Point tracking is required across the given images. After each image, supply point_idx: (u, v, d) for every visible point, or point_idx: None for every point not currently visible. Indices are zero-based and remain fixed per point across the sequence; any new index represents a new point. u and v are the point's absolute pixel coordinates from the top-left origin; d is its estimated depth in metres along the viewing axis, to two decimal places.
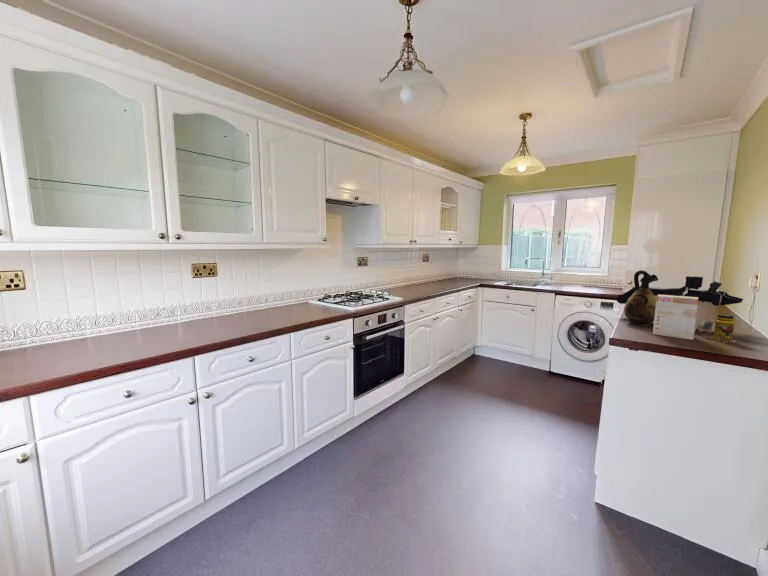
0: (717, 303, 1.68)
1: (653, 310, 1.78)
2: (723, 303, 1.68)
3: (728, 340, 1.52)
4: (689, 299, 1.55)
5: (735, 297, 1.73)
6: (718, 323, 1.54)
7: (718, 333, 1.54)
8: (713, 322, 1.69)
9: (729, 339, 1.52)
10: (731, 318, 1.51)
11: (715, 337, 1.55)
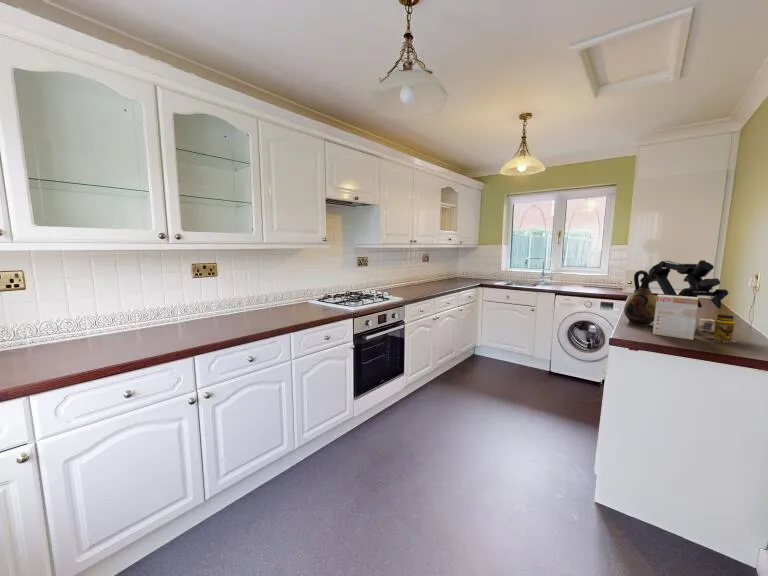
0: None
1: (653, 310, 1.78)
2: None
3: (728, 340, 1.52)
4: (689, 299, 1.55)
5: (718, 302, 1.63)
6: (718, 323, 1.54)
7: (718, 333, 1.54)
8: (713, 322, 1.69)
9: (729, 339, 1.52)
10: (731, 318, 1.51)
11: (715, 337, 1.55)
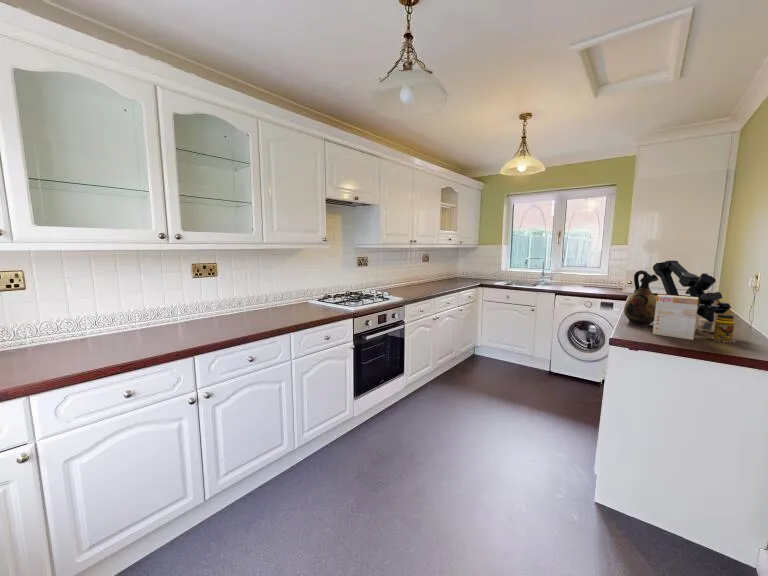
0: None
1: (653, 310, 1.78)
2: (699, 313, 1.66)
3: (728, 340, 1.52)
4: (689, 299, 1.55)
5: (711, 316, 1.62)
6: (718, 323, 1.54)
7: (718, 333, 1.54)
8: (713, 322, 1.69)
9: (729, 339, 1.52)
10: (731, 318, 1.51)
11: (715, 337, 1.55)
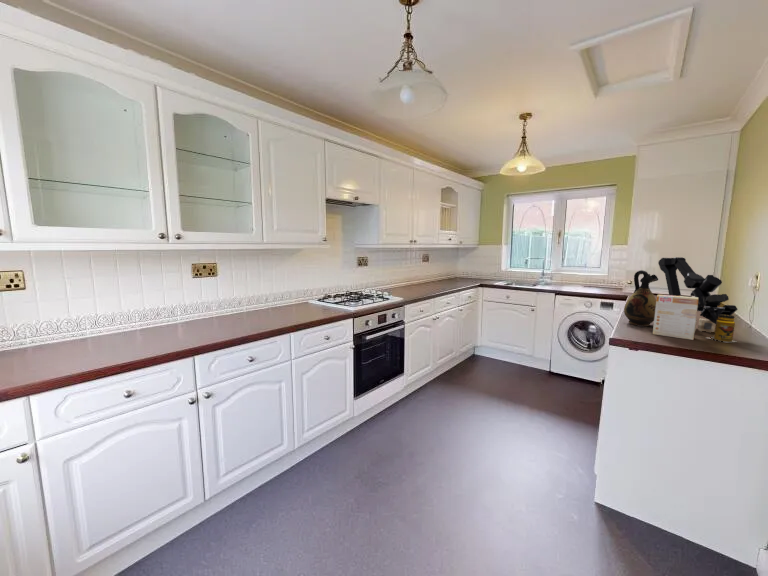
0: None
1: (653, 310, 1.78)
2: (705, 315, 1.63)
3: (729, 340, 1.52)
4: (689, 299, 1.55)
5: (717, 318, 1.58)
6: (719, 323, 1.54)
7: (719, 333, 1.54)
8: None
9: (730, 339, 1.52)
10: (732, 318, 1.51)
11: (716, 337, 1.55)
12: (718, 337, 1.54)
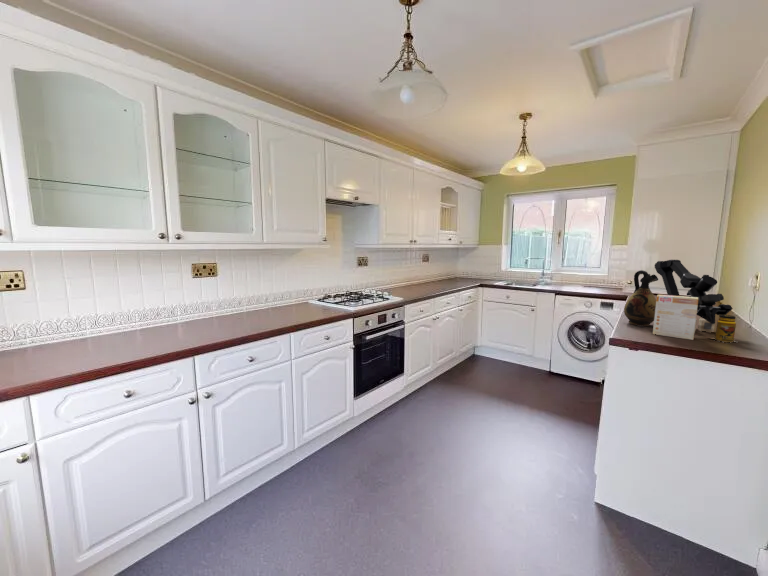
0: None
1: (653, 310, 1.78)
2: (700, 314, 1.65)
3: (730, 340, 1.51)
4: (689, 299, 1.55)
5: (712, 317, 1.61)
6: (720, 324, 1.53)
7: (720, 333, 1.53)
8: None
9: (731, 339, 1.51)
10: (733, 318, 1.50)
11: (717, 337, 1.55)
12: (719, 337, 1.53)
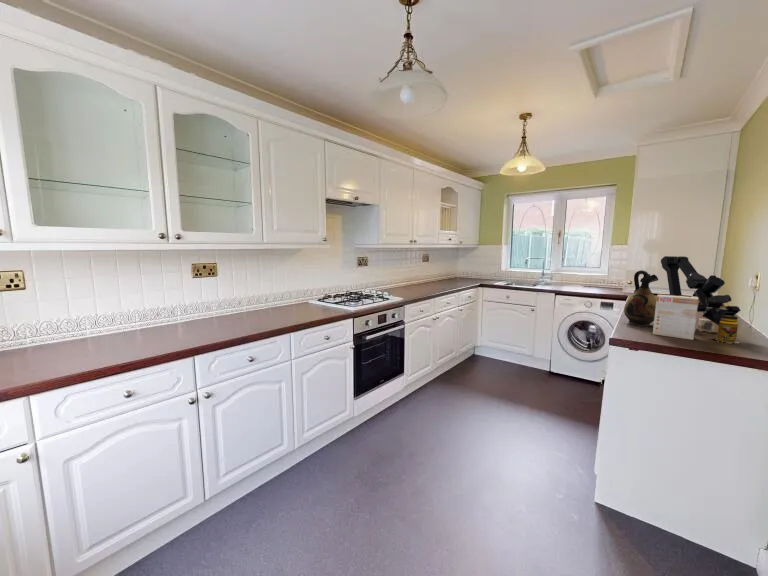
0: None
1: (653, 310, 1.78)
2: (707, 316, 1.61)
3: (731, 341, 1.50)
4: (689, 299, 1.55)
5: (720, 319, 1.57)
6: (721, 324, 1.52)
7: (722, 334, 1.52)
8: (713, 322, 1.69)
9: (733, 340, 1.50)
10: (735, 319, 1.49)
11: (718, 338, 1.54)
12: (721, 338, 1.53)
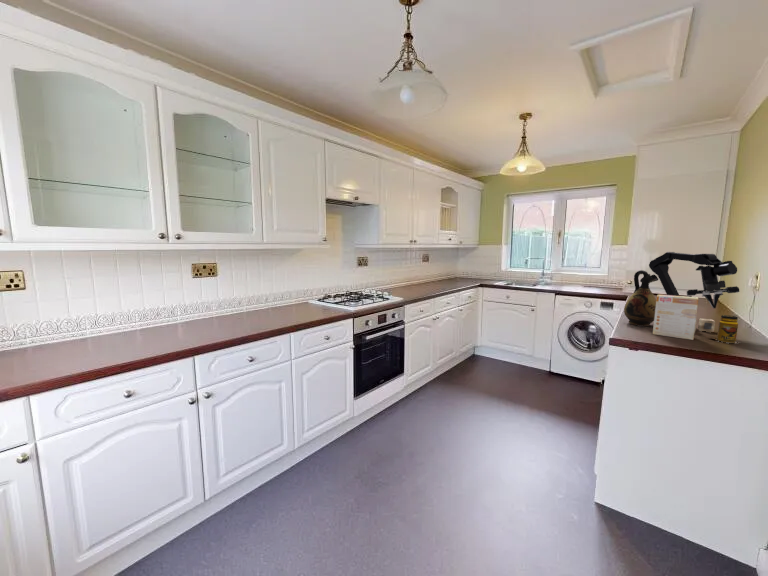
0: (687, 294, 1.77)
1: (653, 310, 1.78)
2: (706, 297, 1.72)
3: (731, 341, 1.50)
4: (689, 299, 1.55)
5: (714, 302, 1.68)
6: (721, 324, 1.52)
7: (722, 334, 1.52)
8: (713, 322, 1.69)
9: (733, 340, 1.50)
10: (735, 319, 1.49)
11: (718, 338, 1.54)
12: (721, 338, 1.53)
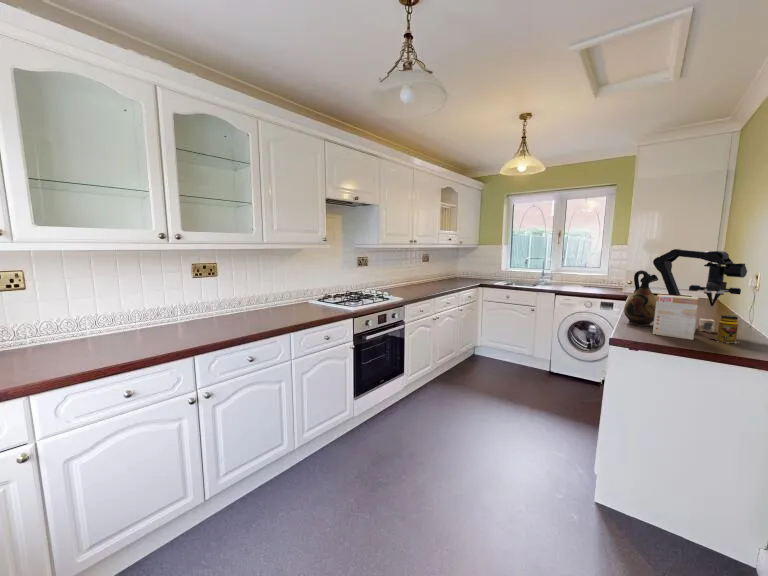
0: None
1: (653, 310, 1.78)
2: None
3: (731, 341, 1.50)
4: (689, 299, 1.55)
5: None
6: (721, 324, 1.52)
7: (722, 334, 1.52)
8: (713, 322, 1.69)
9: (733, 340, 1.50)
10: (735, 319, 1.49)
11: (718, 338, 1.54)
12: (721, 338, 1.53)
